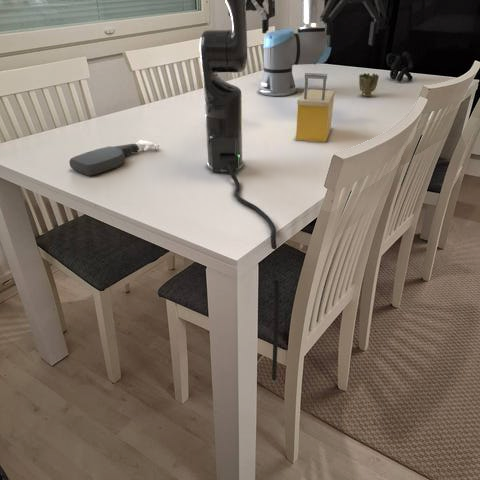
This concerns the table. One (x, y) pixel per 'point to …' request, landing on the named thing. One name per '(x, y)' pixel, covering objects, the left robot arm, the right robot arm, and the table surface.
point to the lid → (315, 92)
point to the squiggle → (399, 66)
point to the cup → (367, 83)
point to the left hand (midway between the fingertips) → (251, 32)
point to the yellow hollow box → (314, 122)
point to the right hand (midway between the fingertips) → (350, 45)
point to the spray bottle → (106, 157)
